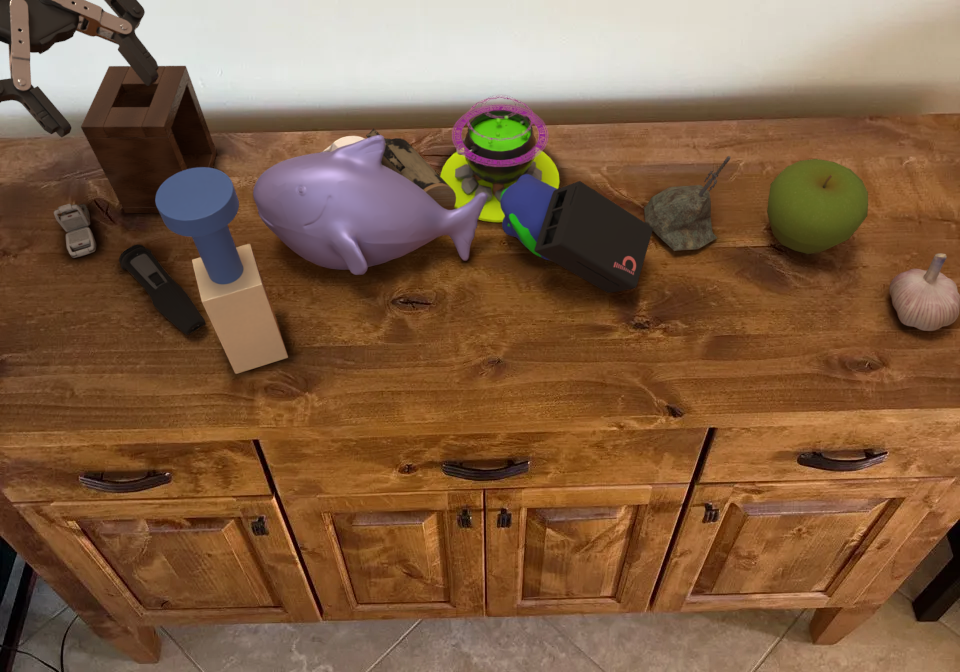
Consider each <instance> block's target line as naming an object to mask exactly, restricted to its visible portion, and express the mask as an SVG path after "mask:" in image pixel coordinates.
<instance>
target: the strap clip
mask: <svg viewBox="0 0 960 672" xmlns="http://www.w3.org/2000/svg"><path fill="white" fill-rule="evenodd" d="M59 214H61V215H60V216H59ZM53 215H54V218H55V220H56V222H57V223H58V224H59V225H60V227H61V228H62V229H63V230H64V231H65V232H66V234H65V243H66V250H67V251H68V252H67V253H68V254H69V255H70V257H71V258H73V259H75V258H80V257H84V256H86V255H89V254H92V253H95V251H97V242H96V240H95V239H96V238H95V236H94V234H93V232H92V230H91V228H90V227H89V226H90V225H91V219H90V211H89V209H88V207H87V204H85V203H81V204H76V203H74V204H72V203H67V204H64V205H63V204H62V205H60V206H58V207H57V208H56V209H54V210H53Z"/></svg>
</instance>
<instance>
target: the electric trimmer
mask: <svg viewBox="0 0 960 672" xmlns="http://www.w3.org/2000/svg"><path fill="white" fill-rule="evenodd" d="M118 262H119V264H120V268H121V269H122V270H123V271H127V272H128V273H129V274H130V275H131V276H132V277H133V278H134V279H135V280H136V281H137V282H138V283H139V285H141V287H142V289H144V290H145V292H146V294H147V295H148V296H149V298H150V300H151V303H152V305H153V307H154V308H155V309H156V310H157V311H158V312H159V313H160V314H161V315H163V316H164V317H165V318H166V320H168V321H169V322H170V323H171V324H173V325H174V326H175V327H176V328H177V329H178V330H179V331H180V332H181V333H183V334H185V335H186V336H190V335H192V334H193V333H194V332H196V331H197V330H199V329H201V328H202V327H204V326H205V325H206V323H207V322H206V319H205V318H204V317H203V315H202V313H201V312H200V310H199V309H198V307H197V306H196V304H195V303H194V302H193V300H192V299H191V297H190V296H189V295H188V293H187V292H186V290H185V289H184V288H183V287H182V286H181V285H179V284H178V283H177V282H176V281H175V280H174V278H172V277H171V275H170V274H169V273H168V272H167V271H166V269H165V267H163V266H162V264H161V263H160V262H159V260H158V259H157V257H156V256H155V255H154V253H153V250H152V249H149V248H147V247H145V246H144V245H143V244H141V243H135V244H133V245H131V246H129V247H127V248H126V249H124V250H123V251H122V252H121V253H120V256H119V258H118Z"/></svg>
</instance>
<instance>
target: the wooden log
mask: <svg viewBox="0 0 960 672" xmlns="http://www.w3.org/2000/svg"><path fill="white" fill-rule="evenodd" d="M376 135H381V134H380V133H379V132H378V130H376V129H375V128H372V129H371V131H370V132H369V133H367V134H366V135H365V137H366V138H370V137H372V136H376ZM384 139H385V151H384V154H383V157H382V161H381V164H382V165H383V166H386V167H388V168H389V169H391V170H393V171H395V172H397V173H398V174H400V175H402V176H404V177H405V178H407V179H408V180H410V181H411V182H413V183H414V184H416V185H417V186H419V187H420V188H421V189H423V190H424V191H425V192H426V193H427V194H428V195H429V196H430V197H431V198H432V199H434V200H435V201H436V202H437V203H438V204H439V205H440V206H441V207H443V208H444V209H447V210H454V209H455V208H454V206H455V203H456V195H455V192H454V191H453V189H452V188H451V187H450V186H449V185H448V184H447V183H446V182H445V181H444V180H443V179H442V178H441V177H440V175H439V173H438V172H436V170H435V169H434V168H433V167H432V166H431V165H430V164H429V163H428V162H427V161H426V160H425V159H424V157H422V156H421V155H420V154H419V152H418V151H417V150H416V149H415V148H414V147H413V146H412V145H411V144H410V143H409V142H408V141H407V140H405V139H404V138H402V137H401V138H400V137H395V138H386V137H384Z"/></svg>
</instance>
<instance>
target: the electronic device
mask: <svg viewBox="0 0 960 672" xmlns="http://www.w3.org/2000/svg"><path fill="white" fill-rule="evenodd" d="M653 232H654V231H653V227H651V226H650V225H648V224H647V223H645V221H644V220H642V219H640V218H638V217H637V216H635V215H634V214H633V213H631V212H630V211H628V210H626V209H625V208H623V207H622V206H620V205H618V204H617V203H615V202H614V201H612V200H611V199H609V198H607V197H605V196H604V195H602V194H601V193H600V192H598V191H596V190H595V189H593V188H592V187H590V186H589V185H587V184H586V183H584V182H582V181H581V180H578V181H576V182H572V183H569V184H567V185H564V186H562V187H559V189H557V190H554V191H553V194H552V197H551V200H550V203H549V206H548V209H547V212H546V215H545V218H544V221H543V224H542V227H541V231H540V234H539V237H538V240H537V243H536V246H535V249H534V251H535V252H537V253H538V254H540V255H542V256H544V257H545V258H547V259H549V260H548V261H551V262H552V263H555V264H556V265H558V266H560V267H562V268H563V269H565V270H566V271H568V272H570V273H572V274H574V275H576V276H578V277H579V278H581V279H583V280H584V281H586V282H588V283H589V284H591V285H593V286H595V287H597V288H598V289H600V290H601V291H604V292H606V293H607V294H611V293H617V292H623V291H628V290H629V291H630V290H634V289H636V288H637V286H638V284H639V283H638V282H639V280H640V277H641V276H640V275H641V272H642V268H643V265H644V262H645V258H646V254H647V252H648V248H649V244H650V240H651V237H652V234H653Z"/></svg>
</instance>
